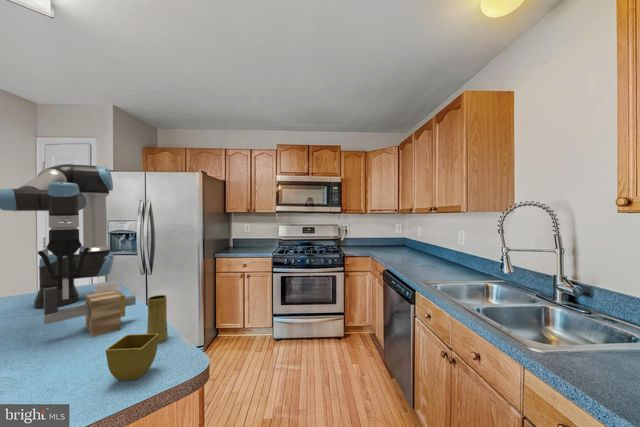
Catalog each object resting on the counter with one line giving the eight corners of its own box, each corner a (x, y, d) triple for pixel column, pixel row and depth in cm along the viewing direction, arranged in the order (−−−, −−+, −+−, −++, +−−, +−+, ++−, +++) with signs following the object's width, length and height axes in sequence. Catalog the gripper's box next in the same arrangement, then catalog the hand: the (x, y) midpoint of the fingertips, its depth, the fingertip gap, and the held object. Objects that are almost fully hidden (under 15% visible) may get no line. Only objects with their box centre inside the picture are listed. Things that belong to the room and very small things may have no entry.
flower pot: (126, 366, 76) (126, 334, 76) (159, 364, 77) (159, 332, 76) (104, 386, 67) (104, 350, 67) (142, 384, 68) (141, 348, 68)
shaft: (44, 321, 90) (43, 288, 90) (133, 302, 109) (133, 275, 109) (44, 324, 88) (44, 290, 88) (135, 304, 107) (135, 276, 107)
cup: (126, 308, 121) (125, 281, 121) (108, 316, 112) (108, 286, 112) (107, 307, 122) (107, 280, 122) (88, 315, 113) (88, 286, 113)
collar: (114, 313, 106) (113, 292, 106) (120, 311, 107) (120, 291, 107) (118, 317, 101) (118, 296, 101) (125, 316, 103) (125, 295, 102)
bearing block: (85, 326, 101) (85, 294, 101) (112, 320, 107) (112, 289, 107) (92, 336, 93) (91, 301, 93) (120, 329, 99) (120, 296, 99)
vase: (172, 337, 93) (172, 295, 93) (156, 345, 87) (155, 301, 87) (158, 334, 95) (158, 293, 95) (142, 342, 89) (141, 299, 89)
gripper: (37, 230, 85) (38, 305, 85) (91, 228, 95) (92, 295, 95) (35, 229, 90) (36, 300, 90) (87, 227, 100) (88, 291, 100)
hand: (65, 298), depth 93 cm, fingers closed
